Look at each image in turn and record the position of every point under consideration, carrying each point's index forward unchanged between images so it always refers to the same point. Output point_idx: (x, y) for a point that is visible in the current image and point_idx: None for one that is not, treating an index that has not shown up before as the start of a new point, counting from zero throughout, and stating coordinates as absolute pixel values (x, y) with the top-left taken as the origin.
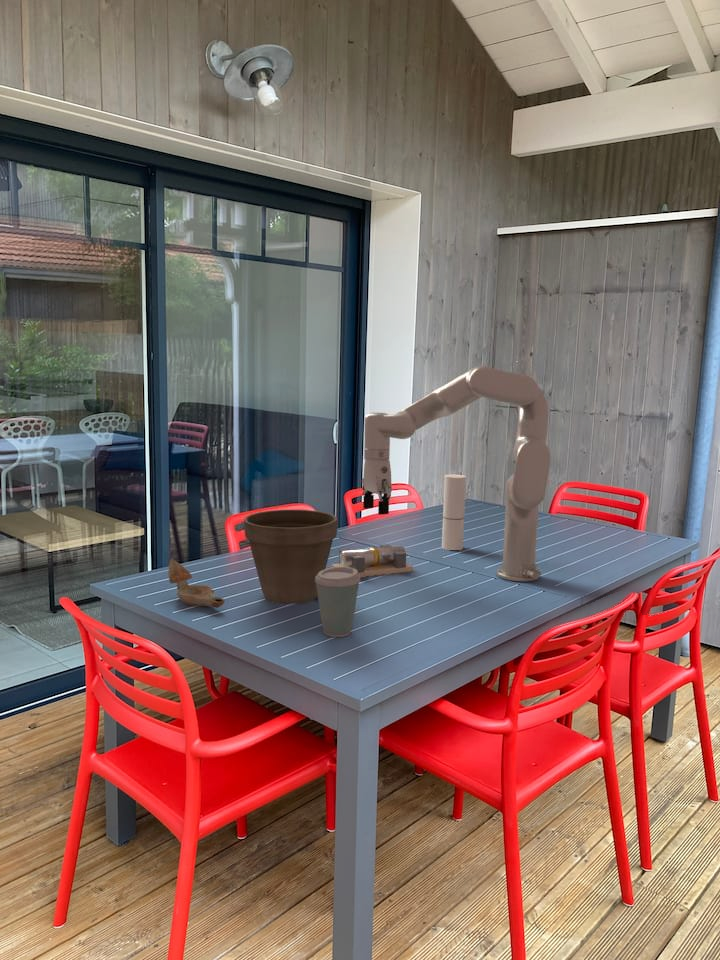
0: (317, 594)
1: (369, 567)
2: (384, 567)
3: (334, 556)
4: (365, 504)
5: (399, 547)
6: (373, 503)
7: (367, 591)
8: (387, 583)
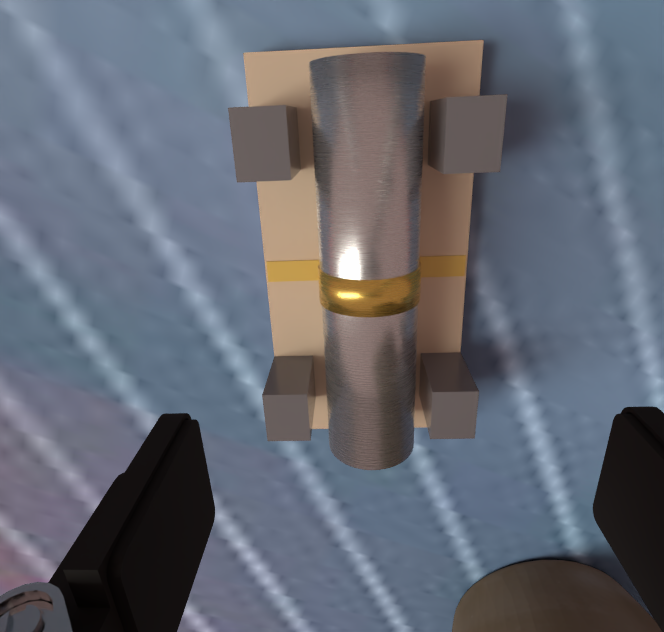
0: (619, 585)
1: None
2: (427, 223)
3: (74, 328)
4: (201, 551)
5: (389, 91)
6: (167, 449)
7: None
8: (593, 286)
